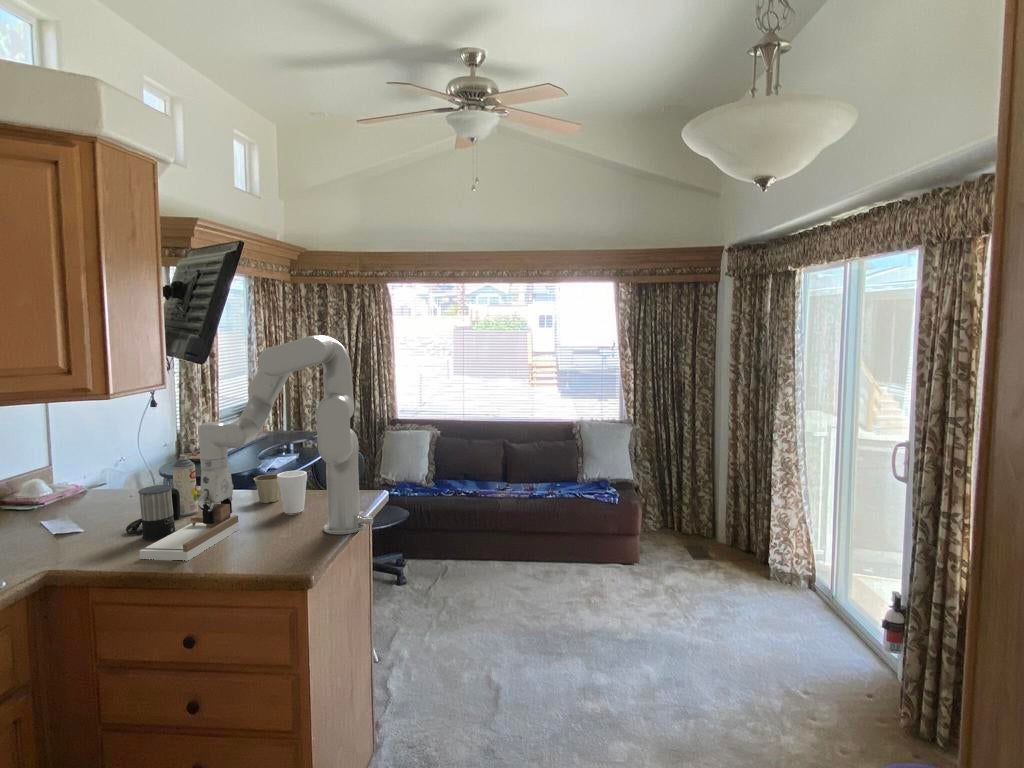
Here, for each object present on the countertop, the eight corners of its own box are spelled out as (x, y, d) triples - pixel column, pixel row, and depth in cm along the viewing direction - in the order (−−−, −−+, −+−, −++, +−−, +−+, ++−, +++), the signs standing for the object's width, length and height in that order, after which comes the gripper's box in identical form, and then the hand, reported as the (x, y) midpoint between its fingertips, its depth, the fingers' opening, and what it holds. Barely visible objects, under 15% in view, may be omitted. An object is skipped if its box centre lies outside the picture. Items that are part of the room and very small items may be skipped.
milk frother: (169, 540, 194) (166, 491, 192) (112, 544, 192) (107, 495, 190) (185, 525, 208) (182, 479, 206) (132, 529, 206) (128, 482, 204)
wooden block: (230, 523, 201) (229, 504, 201) (221, 528, 196) (220, 508, 196) (197, 522, 202) (196, 503, 202) (187, 527, 198) (186, 508, 197)
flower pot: (259, 497, 238) (257, 474, 237) (285, 496, 239) (284, 473, 238) (251, 505, 229) (250, 481, 228) (279, 503, 230) (278, 479, 229)
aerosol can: (196, 515, 219) (192, 456, 216) (174, 517, 216) (169, 458, 214) (199, 509, 225) (195, 452, 223) (177, 511, 223) (173, 453, 221)
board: (238, 529, 203) (238, 515, 202) (188, 560, 177) (186, 544, 177) (196, 528, 204) (195, 514, 204) (140, 559, 179) (138, 543, 178)
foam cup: (312, 512, 219) (310, 474, 218) (283, 517, 214) (281, 478, 213) (303, 505, 227) (301, 469, 226) (276, 510, 222) (273, 473, 220)
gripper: (209, 470, 188) (213, 528, 190) (241, 457, 205) (244, 510, 207) (185, 470, 189) (189, 527, 191) (218, 457, 206) (222, 509, 208)
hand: (218, 518), depth 199 cm, fingers open, 9 cm apart
